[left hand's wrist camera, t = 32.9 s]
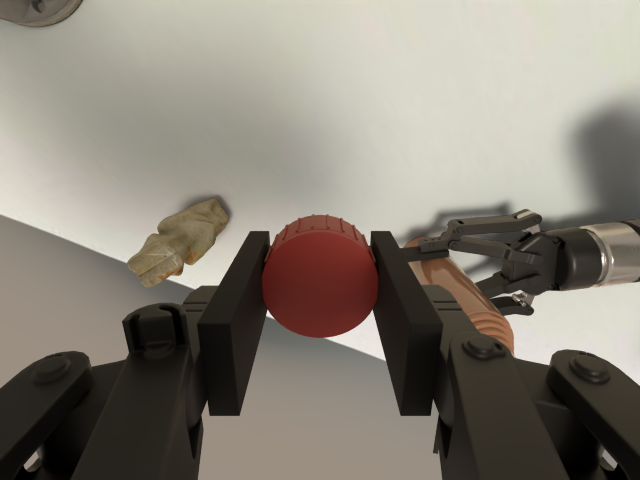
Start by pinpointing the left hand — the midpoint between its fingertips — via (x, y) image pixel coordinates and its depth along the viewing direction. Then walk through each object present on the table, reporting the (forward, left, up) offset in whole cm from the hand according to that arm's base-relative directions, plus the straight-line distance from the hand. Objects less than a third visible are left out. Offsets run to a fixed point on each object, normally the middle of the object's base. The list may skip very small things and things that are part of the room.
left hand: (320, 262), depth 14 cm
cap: (0, 0, +2) cm, 2 cm away
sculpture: (-11, -13, -32) cm, 37 cm away
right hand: (+14, -9, -26) cm, 31 cm away
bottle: (+19, -7, -32) cm, 38 cm away
